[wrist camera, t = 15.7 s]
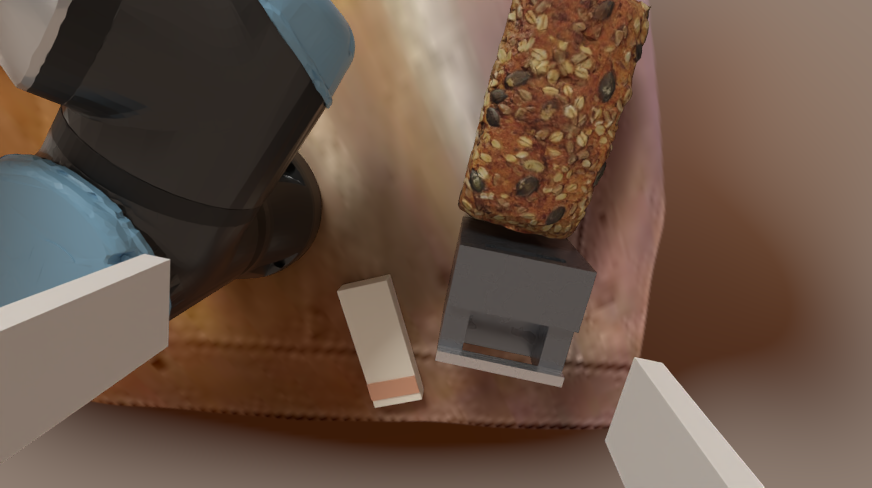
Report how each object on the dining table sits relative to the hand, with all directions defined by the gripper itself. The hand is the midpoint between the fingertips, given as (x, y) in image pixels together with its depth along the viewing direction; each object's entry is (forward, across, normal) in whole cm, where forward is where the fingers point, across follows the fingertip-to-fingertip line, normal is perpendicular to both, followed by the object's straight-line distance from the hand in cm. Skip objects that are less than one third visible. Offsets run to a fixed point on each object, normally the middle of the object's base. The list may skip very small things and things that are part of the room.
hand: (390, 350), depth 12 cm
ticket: (+32, -4, -17) cm, 37 cm away
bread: (+32, +7, +8) cm, 34 cm away
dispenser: (+32, +7, -7) cm, 33 cm away
